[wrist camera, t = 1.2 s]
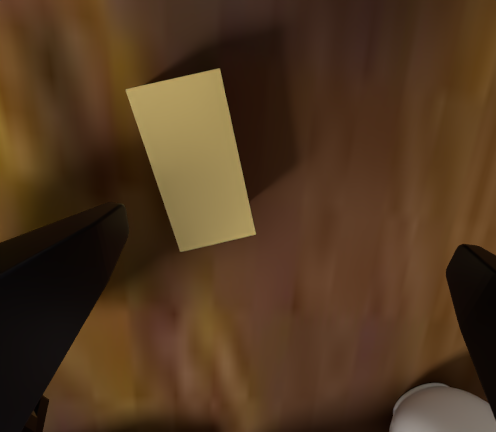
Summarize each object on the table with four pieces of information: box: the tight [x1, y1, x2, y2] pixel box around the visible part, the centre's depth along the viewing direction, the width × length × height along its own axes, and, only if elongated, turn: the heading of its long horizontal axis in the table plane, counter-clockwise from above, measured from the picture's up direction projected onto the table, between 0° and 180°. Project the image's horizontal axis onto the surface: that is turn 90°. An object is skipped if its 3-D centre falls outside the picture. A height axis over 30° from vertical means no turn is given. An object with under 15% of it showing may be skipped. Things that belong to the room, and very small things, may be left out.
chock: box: [125, 68, 256, 252], centre depth 17 cm, size 4×8×4 cm, turn 11°
